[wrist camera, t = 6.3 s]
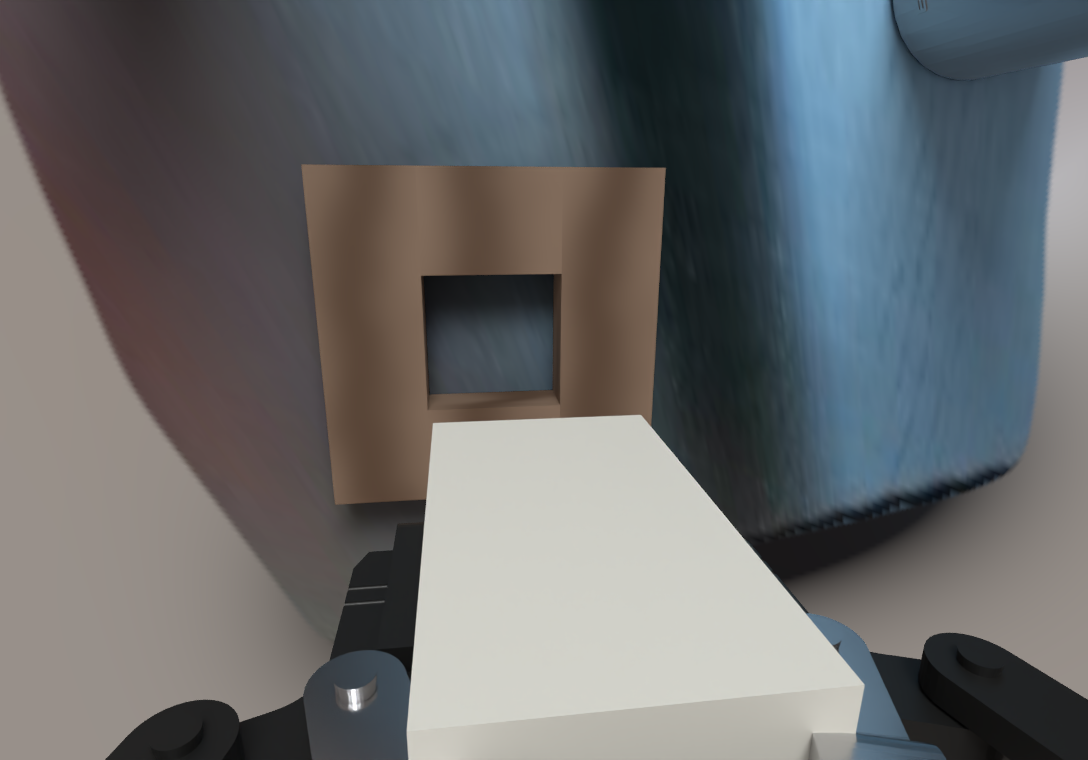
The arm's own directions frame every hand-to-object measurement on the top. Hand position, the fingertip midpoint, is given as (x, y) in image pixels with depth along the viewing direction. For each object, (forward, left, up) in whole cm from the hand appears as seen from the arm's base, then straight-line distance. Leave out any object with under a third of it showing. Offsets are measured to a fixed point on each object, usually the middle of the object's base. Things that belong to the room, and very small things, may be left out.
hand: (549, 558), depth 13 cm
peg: (0, 0, -2) cm, 2 cm away
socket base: (0, 0, -21) cm, 21 cm away
